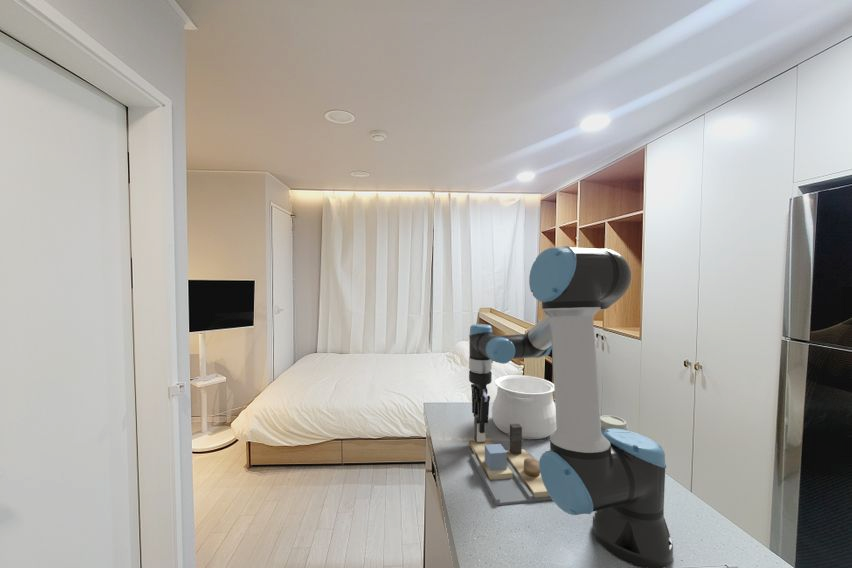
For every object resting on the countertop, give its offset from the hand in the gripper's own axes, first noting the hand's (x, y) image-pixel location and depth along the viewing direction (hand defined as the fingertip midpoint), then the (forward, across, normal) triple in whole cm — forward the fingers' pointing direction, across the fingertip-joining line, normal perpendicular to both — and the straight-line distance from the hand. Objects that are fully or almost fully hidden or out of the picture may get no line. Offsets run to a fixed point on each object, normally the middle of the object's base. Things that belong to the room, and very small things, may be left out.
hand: (479, 438), depth 116 cm
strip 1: (+3, -9, 0) cm, 10 cm away
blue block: (+1, -15, 0) cm, 15 cm away
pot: (+3, +12, -22) cm, 25 cm away
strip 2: (+3, -18, -9) cm, 21 cm away
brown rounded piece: (+1, -20, -9) cm, 22 cm away
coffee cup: (+3, -12, -40) cm, 42 cm away
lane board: (+3, -18, -4) cm, 19 cm away
